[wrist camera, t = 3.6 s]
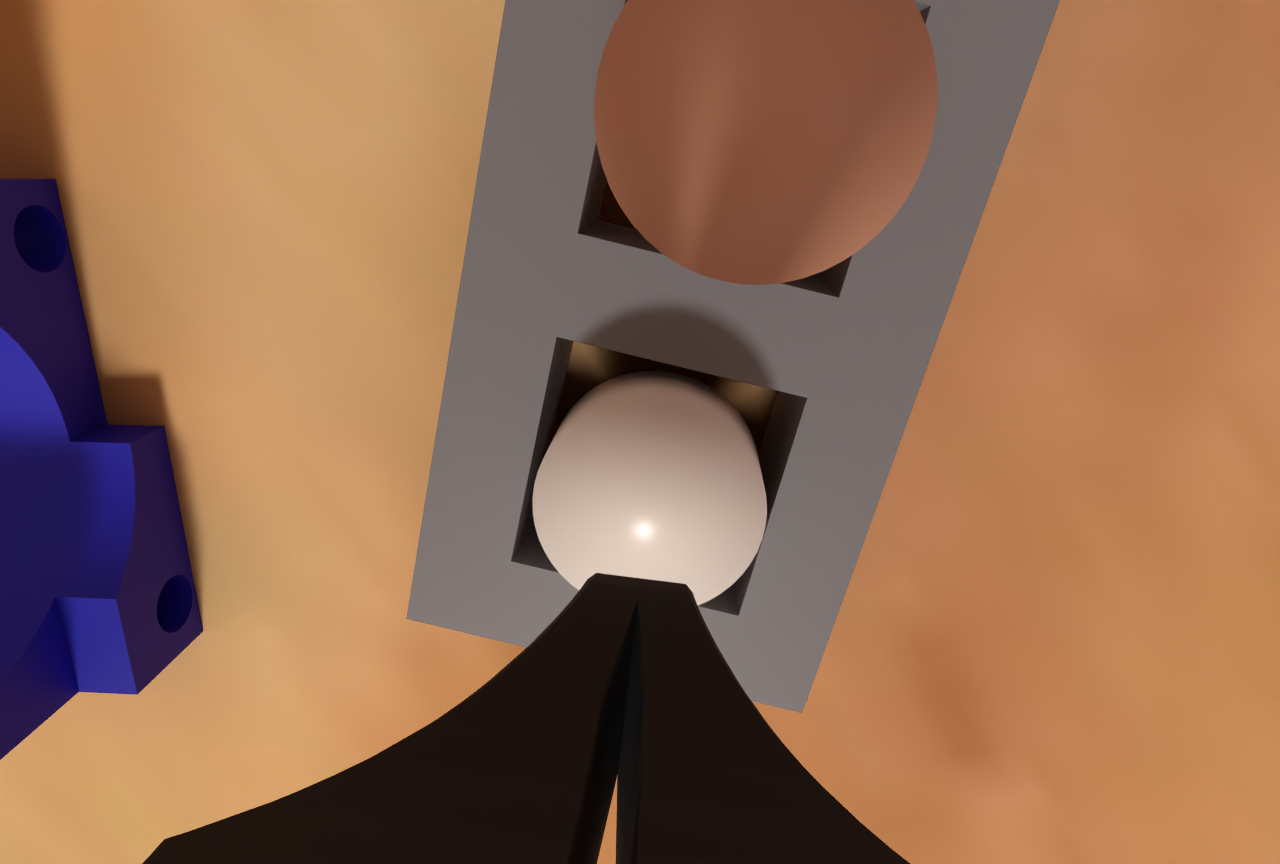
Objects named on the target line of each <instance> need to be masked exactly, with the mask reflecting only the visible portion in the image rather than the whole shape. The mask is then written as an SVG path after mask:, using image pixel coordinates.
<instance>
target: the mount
mask: <svg viewBox="0 0 1280 864" xmlns="http://www.w3.org/2000/svg"><path fill="white" fill-rule="evenodd" d="M627 1H628V0H505V6H504V13H503V19H502V25H501V31H500V38H499V44H498V50H497V56H496V63H495V69H494V75H493V81H492V88H491V94H490V100H489V106H488V113H487V119H486V125H485V131H484V138H483V144H482V150H481V156H480V163H479V169H478V175H477V181H476V188H475V194H474V200H473V206H472V213H471V219H470V225H469V231H468V238H467V244H466V250H465V256H464V263H463V269H462V275H461V281H460V288H459V294H458V300H457V306H456V313H455V319H454V325H453V331H452V338H451V344H450V350H449V356H448V363H447V369H446V375H445V381H444V388H443V394H442V400H441V406H440V413H439V419H438V425H437V431H436V438H435V444H434V450H433V456H432V463H431V469H430V475H429V481H428V488H427V494H426V500H425V506H424V513H423V519H422V525H421V531H420V538H419V544H418V550H417V556H416V563H415V569H414V575H413V581H412V588H411V594H410V600H409V606H408V613H407V619H410V620H414V621H418V622H422V623H426V624H431V625H435V626H439V627H443V628H447V629H452V630H456V631H460V632H464V633H468V634H473V635H477V636H481V637H485V638H489V639H494V640H498V641H502V642H506V643H510V644H515V645H519V646H523V647H528V646H529V645H530V644H531V643H532V642H533V641H534V640H535V639H536V638H537V637H538V636H539V635H540V634H541V633H542V632H543V631H544V630H545V629H546V628H547V627H548V626H549V625H550V624H551V623H552V622H553V620H554V619H555V618H556V617H557V616H558V615H559V614H560V613H561V612H562V611H563V609H564V608H565V607H566V606H567V605H568V604H569V603H570V601H571V600H572V599H573V598H574V596H575V595H576V594H577V593H578V591H579V590H578V589H576V588H575V587H574V586H572V585H571V584H570V583H569V582H568V581H567V580H566V579H565V578H564V577H563V576H562V575H561V574H560V573H559V572H558V571H557V569H556V568H555V567H554V566H553V564H552V563H551V561H550V560H549V558H548V557H547V555H546V553H545V552H544V550H543V547H542V545H541V543H540V541H539V538H538V535H537V531H536V528H535V524H534V517H533V490H534V483H535V480H536V476H537V473H538V469H539V467H540V465H541V463H542V460H543V458H544V456H545V454H546V452H547V450H548V448H549V446H550V444H551V442H552V438H553V434H554V429H555V424H556V419H557V415H558V410H559V405H560V400H561V396H562V391H563V386H564V382H565V377H566V372H567V367H568V363H569V358H570V353H571V348H572V344H573V341H576V342H580V343H584V344H588V345H592V346H597V347H601V348H605V349H609V350H613V351H617V352H621V353H625V354H629V355H633V356H638V357H642V358H646V359H650V360H654V361H658V362H662V363H666V364H670V365H674V366H679V367H683V368H687V369H691V370H695V371H699V372H703V373H707V374H711V375H715V376H719V377H724V378H728V379H732V380H736V381H740V382H744V383H748V384H752V385H756V386H760V387H765V388H769V389H773V390H777V394H776V397H775V400H774V404H773V407H772V410H771V414H770V417H769V420H768V424H767V427H766V430H765V434H764V437H763V440H762V444H761V447H760V450H759V453H758V459H759V464H760V469H761V473H762V478H763V483H764V488H765V493H766V501H767V517H766V526H765V530H764V534H763V538H762V541H761V544H760V546H759V549H758V551H757V553H756V555H755V557H754V558H753V560H752V562H751V564H750V565H749V566H748V568H747V569H746V570H745V572H744V573H743V574H742V575H741V576H740V577H739V578H738V579H737V580H736V581H735V582H734V583H733V584H732V585H731V586H730V587H729V588H728V589H726V590H725V591H724V592H722V593H721V594H719V595H718V596H716V597H714V598H713V599H711V600H709V601H707V602H705V603H703V604H700V605H698V608H699V610H700V612H701V615H702V617H703V619H704V621H705V623H706V625H707V627H708V629H709V631H710V633H711V635H712V637H713V639H714V641H715V643H716V645H717V646H718V648H719V650H720V652H721V653H722V655H723V657H724V658H725V660H726V662H727V664H728V665H729V667H730V669H731V670H732V672H733V674H734V675H735V677H736V679H737V680H738V682H739V683H740V685H741V686H742V688H743V689H744V691H745V693H746V694H747V696H748V697H749V698H750V700H751V701H754V702H758V703H762V704H766V705H771V706H775V707H779V708H783V709H787V710H792V711H796V712H800V713H802V711H803V709H804V706H805V703H806V700H807V698H808V695H809V692H810V689H811V686H812V684H813V681H814V678H815V675H816V673H817V670H818V667H819V664H820V662H821V659H822V656H823V653H824V651H825V648H826V645H827V642H828V640H829V637H830V634H831V631H832V628H833V626H834V623H835V620H836V617H837V615H838V612H839V609H840V606H841V604H842V601H843V598H844V595H845V593H846V590H847V587H848V584H849V581H850V579H851V576H852V573H853V570H854V568H855V565H856V562H857V559H858V557H859V554H860V551H861V548H862V546H863V543H864V540H865V537H866V534H867V532H868V529H869V526H870V523H871V521H872V518H873V515H874V512H875V510H876V507H877V504H878V501H879V499H880V496H881V493H882V490H883V488H884V485H885V482H886V479H887V476H888V474H889V471H890V468H891V465H892V463H893V460H894V457H895V454H896V452H897V449H898V446H899V443H900V441H901V438H902V435H903V432H904V429H905V427H906V424H907V421H908V418H909V416H910V413H911V410H912V407H913V405H914V402H915V399H916V396H917V394H918V391H919V388H920V385H921V382H922V380H923V377H924V374H925V371H926V369H927V366H928V363H929V360H930V358H931V355H932V352H933V349H934V347H935V344H936V341H937V338H938V336H939V333H940V330H941V327H942V324H943V322H944V319H945V316H946V313H947V311H948V308H949V305H950V302H951V300H952V297H953V294H954V291H955V289H956V286H957V283H958V280H959V277H960V275H961V272H962V269H963V266H964V264H965V261H966V258H967V255H968V253H969V250H970V247H971V244H972V242H973V239H974V236H975V233H976V230H977V228H978V225H979V222H980V219H981V217H982V214H983V211H984V208H985V206H986V203H987V200H988V197H989V195H990V192H991V189H992V186H993V184H994V181H995V178H996V175H997V172H998V170H999V167H1000V164H1001V161H1002V159H1003V156H1004V153H1005V150H1006V148H1007V145H1008V142H1009V139H1010V137H1011V134H1012V131H1013V128H1014V125H1015V123H1016V120H1017V117H1018V114H1019V112H1020V109H1021V106H1022V103H1023V101H1024V98H1025V95H1026V92H1027V90H1028V87H1029V84H1030V81H1031V78H1032V76H1033V73H1034V70H1035V67H1036V65H1037V62H1038V59H1039V56H1040V54H1041V51H1042V48H1043V45H1044V43H1045V40H1046V37H1047V34H1048V32H1049V29H1050V26H1051V23H1052V20H1053V18H1054V15H1055V12H1056V9H1057V7H1058V4H1059V1H1060V0H914V2H915V4H916V6H917V8H918V9H919V11H920V13H921V16H922V18H923V21H924V23H925V26H926V28H927V31H928V33H929V37H930V41H931V45H932V49H933V53H934V57H935V64H936V73H937V82H938V93H937V113H936V120H935V127H934V133H933V137H932V141H931V144H930V148H929V152H928V155H927V158H926V160H925V163H924V165H923V168H922V170H921V173H920V175H919V178H918V179H917V181H916V183H915V185H914V187H913V189H912V190H911V192H910V194H909V196H908V198H907V199H906V201H905V202H904V203H903V205H902V206H901V208H900V209H899V210H898V212H897V213H896V215H895V216H894V217H893V218H892V220H891V221H890V222H889V223H888V224H887V225H886V226H885V227H884V228H883V229H882V231H881V232H880V233H879V234H878V235H877V236H875V237H874V238H873V239H872V240H871V241H870V242H868V243H867V244H866V245H865V246H864V247H863V248H862V249H860V250H859V251H857V252H856V253H854V254H853V255H851V256H850V257H848V258H847V259H845V260H844V261H842V262H840V263H838V264H836V265H834V266H832V267H830V268H828V269H826V270H824V271H822V272H819V273H817V274H814V275H811V276H808V277H805V278H803V279H798V280H793V281H789V282H784V283H777V284H766V285H750V284H737V283H731V282H725V281H720V280H716V279H713V278H710V277H707V276H704V275H700V274H698V273H696V272H694V271H692V270H689V269H687V268H685V267H683V266H681V265H679V264H678V263H676V262H675V261H673V260H671V259H670V258H668V257H667V256H665V255H664V254H662V253H661V252H660V251H659V250H658V249H656V248H655V247H654V246H653V245H652V244H651V243H649V242H648V241H647V240H646V239H645V238H644V237H643V236H642V235H641V233H640V232H639V231H638V230H637V229H633V228H629V227H625V226H621V225H617V224H613V223H609V222H605V221H601V220H599V215H600V211H601V206H602V201H603V196H604V192H605V187H606V182H607V178H606V176H605V173H604V170H603V168H602V164H601V160H600V156H599V152H598V147H597V143H596V133H595V124H594V96H595V88H596V81H597V74H598V69H599V66H600V62H601V58H602V54H603V50H604V47H605V45H606V42H607V40H608V37H609V35H610V32H611V30H612V27H613V25H614V23H615V22H616V20H617V18H618V16H619V14H620V12H621V11H622V9H623V7H624V5H625V4H626V2H627Z"/></svg>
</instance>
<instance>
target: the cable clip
mask: <svg viewBox="0 0 1280 864" xmlns="http://www.w3.org/2000/svg"><path fill="white" fill-rule="evenodd" d="M202 632H203V628H202V622H201V617H200V612H199V606H198V601H197V596H196V591H195V585H194V580H193V575H192V570H191V564H190V559H189V554H188V549H187V543H186V538H185V533H184V527H183V522H182V517H181V512H180V506H179V501H178V496H177V491H176V485H175V480H174V475H173V470H172V464H171V459H170V454H169V448H168V443H167V438H166V433H165V427H164V426H144V425H108V424H107V419H106V414H105V410H104V405H103V400H102V396H101V391H100V386H99V382H98V377H97V372H96V367H95V363H94V358H93V353H92V349H91V344H90V339H89V335H88V330H87V325H86V320H85V316H84V311H83V306H82V302H81V297H80V292H79V288H78V283H77V278H76V274H75V269H74V264H73V259H72V255H71V250H70V245H69V241H68V236H67V231H66V227H65V222H64V217H63V212H62V208H61V203H60V198H59V194H58V189H57V184H56V180H55V179H4V178H0V760H1V759H2V758H3V757H4V756H5V755H6V754H8V753H9V752H10V751H11V750H12V749H13V748H14V747H16V746H17V745H18V744H19V743H20V742H21V741H22V740H24V739H25V738H26V737H27V736H28V735H29V734H31V733H32V732H33V731H34V730H35V729H36V728H37V727H39V726H40V725H41V724H42V723H43V722H44V721H46V720H47V719H48V718H49V717H50V716H51V715H52V714H54V713H55V712H56V711H57V710H58V709H59V708H61V707H62V706H63V705H64V704H65V703H66V702H67V701H69V700H70V699H71V698H72V697H73V696H74V695H76V694H77V693H78V692H96V693H118V694H138V693H139V692H140V691H141V690H142V689H144V688H145V687H146V686H147V685H148V684H149V683H150V682H151V681H152V680H153V679H154V678H155V677H156V676H157V675H158V674H159V673H160V672H161V671H162V670H163V669H164V668H165V667H166V666H167V665H168V664H169V663H171V662H172V661H173V660H174V659H175V658H176V657H177V656H178V655H179V654H180V653H181V652H182V651H183V650H184V649H185V648H186V647H187V646H188V645H189V644H190V643H191V642H192V641H193V640H194V639H195V638H196V637H198V636H199V635H200V634H201V633H202Z"/></svg>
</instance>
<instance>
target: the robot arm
mask: <svg viewBox="0 0 1280 864" xmlns="http://www.w3.org/2000/svg"><path fill="white" fill-rule="evenodd" d="M617 774H618V780H617V830H616V864H910V863H909V862H907V861H906V860H905V859H903V858H902V857H901V856H900V855H898V854H897V853H896V852H895V851H893V850H892V849H891V848H890V847H888V846H887V845H886V844H885V843H884V842H883V841H881V840H880V839H879V838H878V837H877V836H876V835H874V834H873V833H872V832H871V831H870V830H868V829H867V828H866V827H865V826H864V825H863V824H862V823H860V822H859V821H858V820H857V819H856V818H855V817H854V816H853V815H852V814H851V813H850V812H849V811H848V810H847V809H846V808H844V807H843V806H842V805H841V804H840V803H839V802H838V801H837V800H836V799H835V798H834V797H833V796H832V795H831V794H830V793H829V792H828V791H827V790H825V789H824V788H823V787H822V786H821V785H820V784H819V783H818V781H817V780H816V779H815V778H814V777H813V776H812V775H811V774H810V773H809V772H808V771H807V770H806V769H805V768H804V767H803V766H802V765H801V764H800V762H799V761H798V760H797V759H796V758H795V757H794V756H793V754H792V753H791V752H790V751H789V750H788V749H787V747H786V746H785V745H784V744H783V743H782V742H781V740H780V739H779V738H778V737H777V735H776V734H775V733H774V731H773V730H772V729H771V728H770V726H769V725H768V724H767V722H766V721H765V720H764V718H763V717H762V715H761V714H760V713H759V711H758V710H757V708H756V707H755V705H754V704H753V703H752V701H751V700H750V698H749V697H748V696H747V694H746V693H745V691H744V689H743V688H742V686H741V685H740V683H739V682H738V680H737V679H736V677H735V675H734V674H733V672H732V670H731V669H730V667H729V665H728V664H727V662H726V660H725V658H724V657H723V655H722V653H721V652H720V650H719V648H718V646H717V645H716V643H715V641H714V639H713V637H712V635H711V633H710V631H709V629H708V627H707V625H706V623H705V621H704V619H703V617H702V615H701V612H700V610H699V608H698V605H697V603H696V600H695V598H694V595H693V592H692V591H691V590H690V588H689V587H688V586H687V585H686V584H682V583H674V582H666V581H658V580H650V579H642V578H634V577H626V576H618V575H610V574H602V573H595V574H594V575H593V576H591V577H590V578H588V579H587V580H586V582H585V583H584V585H583V586H582V587H581V589H580V590H579V591H578V593H577V594H576V595H575V596H574V598H573V599H572V600H571V601H570V603H569V604H568V605H567V606H566V607H565V608H564V609H563V611H562V612H561V613H560V614H559V615H558V616H557V617H556V618H555V619H554V620H553V622H552V623H551V624H550V625H549V626H548V627H547V628H546V629H545V630H544V631H543V632H542V633H541V634H540V635H539V636H538V637H537V638H536V639H535V640H534V641H533V642H532V643H531V644H530V645H529V646H528V647H527V648H526V649H525V650H524V651H523V652H521V653H520V654H519V655H518V656H517V657H516V658H515V659H514V660H512V661H511V662H510V663H509V664H508V665H507V666H506V667H504V668H503V669H502V670H501V671H500V672H499V673H498V674H497V675H495V676H494V677H493V678H492V679H491V680H490V681H488V682H487V683H486V684H485V685H483V686H482V687H481V688H479V689H478V690H477V691H476V692H474V693H473V694H472V695H470V696H469V697H468V698H466V699H465V700H464V701H462V702H461V703H460V704H458V705H457V706H455V707H454V708H453V709H451V710H450V711H448V712H447V713H445V714H444V715H443V716H441V717H440V718H438V719H437V720H435V721H434V722H432V723H431V724H429V725H427V726H426V727H424V728H422V729H420V730H419V731H417V732H415V733H413V734H412V735H410V736H408V737H406V738H405V739H403V740H401V741H399V742H398V743H396V744H394V745H392V746H391V747H389V748H387V749H385V750H384V751H382V752H380V753H378V754H377V755H375V756H373V757H371V758H369V759H367V760H365V761H363V762H361V763H359V764H357V765H355V766H352V767H350V768H348V769H346V770H344V771H342V772H340V773H338V774H336V775H334V776H332V777H329V778H327V779H325V780H322V781H320V782H318V783H316V784H313V785H311V786H309V787H307V788H304V789H302V790H300V791H297V792H295V793H293V794H290V795H288V796H285V797H283V798H280V799H278V800H275V801H273V802H270V803H268V804H265V805H262V806H259V807H256V808H254V809H251V810H248V811H245V812H242V813H240V814H237V815H234V816H231V817H228V818H226V819H223V820H220V821H217V822H214V823H212V824H209V825H206V826H203V827H200V828H197V829H195V830H192V831H189V832H186V833H183V834H180V835H176V836H173V837H170V838H167V839H165V840H164V841H163V842H162V843H161V844H160V845H159V846H158V847H157V848H156V849H155V850H154V852H153V853H152V854H151V855H150V856H149V857H148V858H147V859H146V860H145V861H144V862H143V864H597V860H598V856H599V852H600V847H601V843H602V839H603V834H604V830H605V826H606V821H607V817H608V813H609V809H610V804H611V800H612V796H613V791H614V787H615V782H616V778H617Z"/></svg>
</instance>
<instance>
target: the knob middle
mask: <svg viewBox="0 0 1280 864" xmlns="http://www.w3.org/2000/svg"><path fill="white" fill-rule="evenodd" d="M937 93H938V82H937V73H936V64H935V57H934V53H933V49H932V45H931V41H930V37H929V33H928V31H927V28H926V26H925V23H924V21H923V18H922V16H921V13H920V11H919V9H918V8H917V6H916V4H915V2H914V0H628V1H627V2H626V4H625V5H624V7H623V9H622V11H621V12H620V14H619V16H618V18H617V20H616V22H615V23H614V25H613V27H612V30H611V32H610V35H609V37H608V40H607V42H606V45H605V47H604V50H603V54H602V58H601V62H600V66H599V69H598V74H597V81H596V88H595V96H594V124H595V133H596V143H597V147H598V152H599V156H600V160H601V164H602V168H603V170H604V173H605V176H606V178H607V181H608V184H609V187H610V188H611V190H612V192H613V194H614V196H615V198H616V200H617V202H618V204H619V206H620V207H621V209H622V210H623V212H624V213H625V215H626V216H627V217H628V219H629V220H630V222H631V223H632V225H633V226H634V227H635V228H636V229H637V230H638V231H639V232H640V233H641V235H642V236H643V237H644V238H645V239H646V240H647V241H648V242H649V243H651V244H652V245H653V246H654V247H655V248H656V249H658V250H659V251H660V252H661V253H662V254H664V255H665V256H667V257H668V258H670V259H671V260H673V261H675V262H676V263H678V264H679V265H681V266H683V267H685V268H687V269H689V270H692V271H694V272H696V273H698V274H700V275H704V276H707V277H710V278H713V279H716V280H720V281H725V282H731V283H737V284H750V285H766V284H777V283H784V282H789V281H793V280H798V279H803V278H805V277H808V276H811V275H814V274H817V273H819V272H822V271H824V270H826V269H828V268H830V267H832V266H834V265H836V264H838V263H840V262H842V261H844V260H845V259H847V258H848V257H850V256H851V255H853V254H854V253H856V252H857V251H859V250H860V249H862V248H863V247H864V246H865V245H866V244H867V243H868V242H870V241H871V240H872V239H873V238H874V237H875V236H877V235H878V234H879V233H880V232H881V231H882V229H883V228H884V227H885V226H886V225H887V224H888V223H889V222H890V221H891V220H892V218H893V217H894V216H895V215H896V213H897V212H898V210H899V209H900V208H901V206H902V205H903V203H904V202H905V201H906V199H907V198H908V196H909V194H910V192H911V190H912V189H913V187H914V185H915V183H916V181H917V179H918V178H919V175H920V173H921V170H922V168H923V165H924V163H925V160H926V158H927V155H928V152H929V148H930V144H931V141H932V137H933V133H934V127H935V120H936V113H937Z"/></svg>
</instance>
